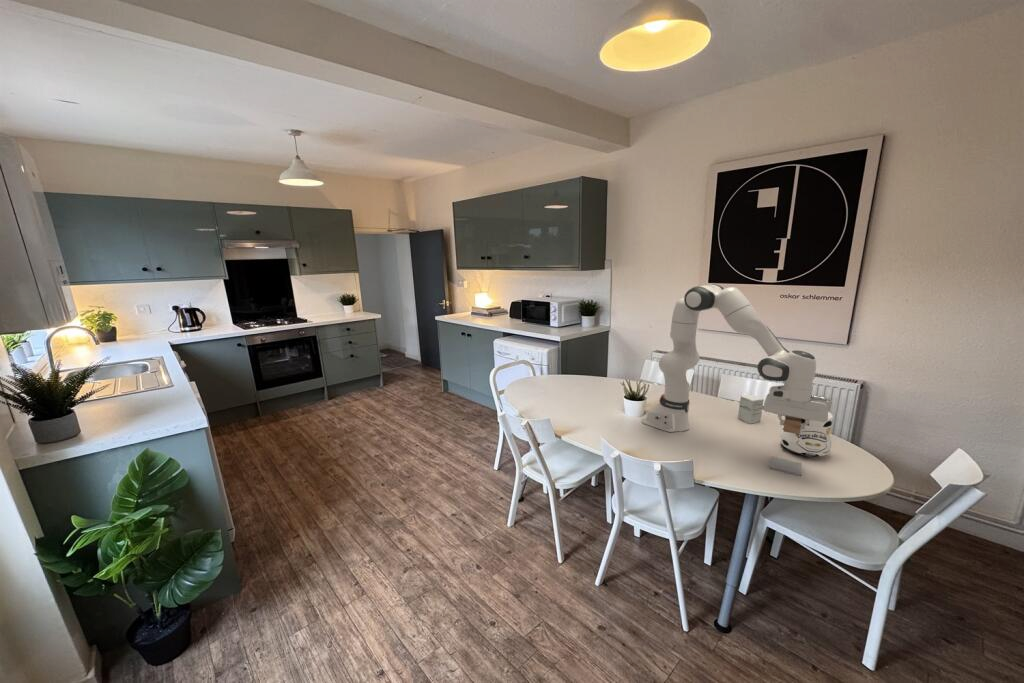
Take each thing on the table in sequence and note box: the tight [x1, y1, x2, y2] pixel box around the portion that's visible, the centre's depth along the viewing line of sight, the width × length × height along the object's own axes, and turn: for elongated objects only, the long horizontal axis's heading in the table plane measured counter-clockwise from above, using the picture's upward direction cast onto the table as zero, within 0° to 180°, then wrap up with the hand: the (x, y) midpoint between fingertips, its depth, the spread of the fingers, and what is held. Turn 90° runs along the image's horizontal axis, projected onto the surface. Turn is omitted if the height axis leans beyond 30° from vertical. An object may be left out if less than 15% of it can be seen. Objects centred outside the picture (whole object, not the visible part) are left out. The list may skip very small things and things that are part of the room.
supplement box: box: [737, 393, 765, 425], centre depth 194 cm, size 7×7×13 cm
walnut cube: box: [783, 415, 801, 435], centre depth 149 cm, size 5×5×5 cm
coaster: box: [769, 455, 803, 477], centre depth 153 cm, size 10×10×1 cm
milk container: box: [780, 411, 834, 458], centre depth 164 cm, size 17×17×18 cm
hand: (792, 426), depth 149 cm, fingers closed on walnut cube, 5 cm apart
